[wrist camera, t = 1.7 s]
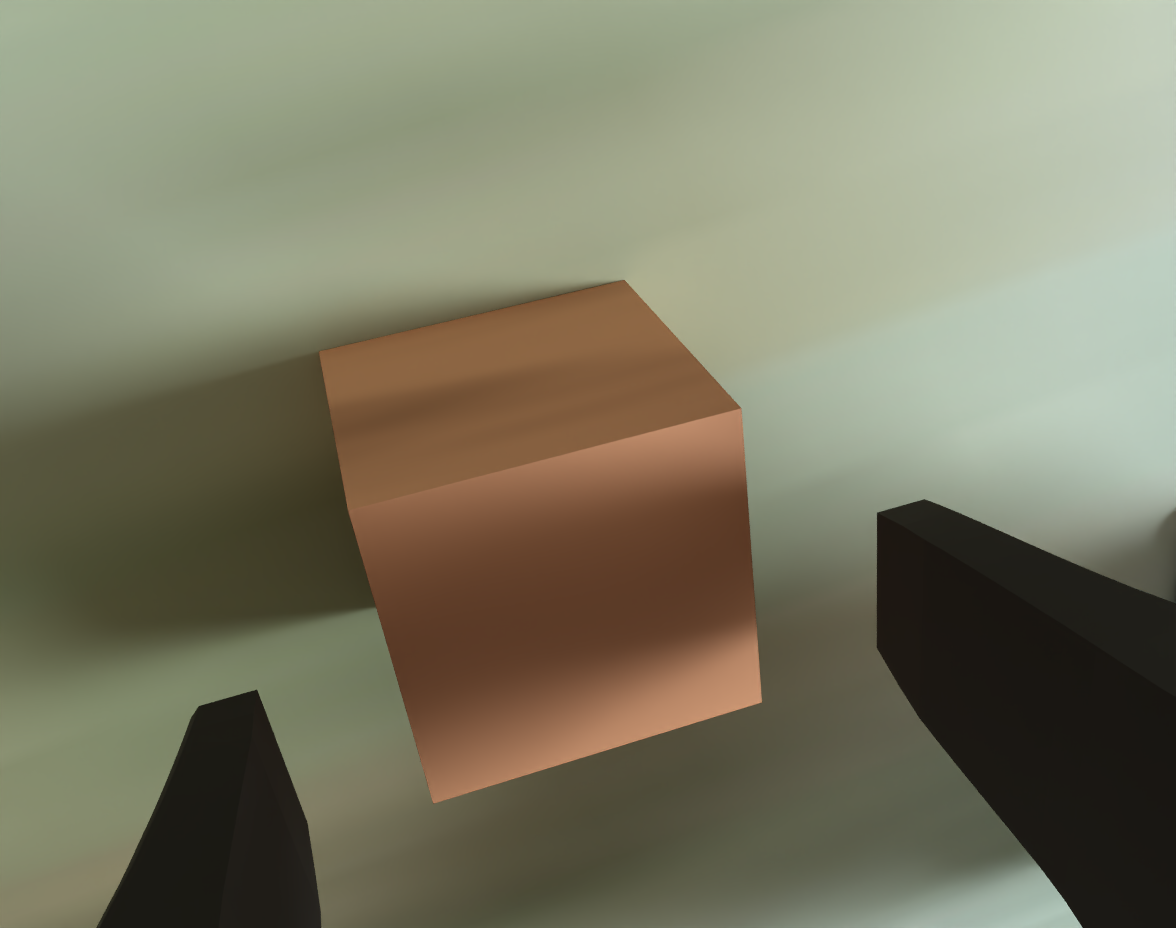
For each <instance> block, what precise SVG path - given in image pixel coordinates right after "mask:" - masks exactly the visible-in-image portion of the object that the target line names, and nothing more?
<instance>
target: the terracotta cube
mask: <svg viewBox="0 0 1176 928" xmlns="http://www.w3.org/2000/svg"><path fill="white" fill-rule="evenodd" d="M319 355H320V361H321V366H322V372H323V377H324V382H325V388H326V393H327V399H328V404H329V410H330V415H331V420H332V426H333V431H334V437H335V442H336V448H337V453H338V458H339V464H340V469H341V475H342V480H343V486H344V491H345V496H346V502H347V507H348V512H349V515H350V519H351V522H352V526H353V529H354V533H355V536H356V539H357V543H358V546H359V550H360V553H361V557H362V560H363V564H364V567H365V570H366V574H367V577H368V581H369V584H370V588H371V591H372V594H373V598H374V601H375V605H376V608H377V612H378V615H379V619H380V622H381V625H382V629H383V632H384V636H385V639H386V643H387V646H388V649H389V653H390V656H391V660H392V663H393V667H394V670H395V674H396V677H397V680H398V684H399V687H400V691H401V694H402V698H403V701H404V704H405V708H406V711H407V715H408V718H409V722H410V725H411V729H412V732H413V735H414V739H415V742H416V746H417V749H418V753H419V756H420V759H421V763H422V766H423V770H424V773H425V777H426V780H427V784H428V787H429V790H430V794H431V797H432V801H433V804H434V803H437V802H440V801H443V800H447V799H450V798H453V797H456V796H460V795H463V794H466V793H469V792H473V791H476V790H479V789H482V788H486V787H489V786H492V785H495V784H499V783H502V782H505V781H508V780H512V779H515V778H518V777H521V776H525V775H528V774H531V773H534V772H537V771H541V770H544V769H547V768H550V767H554V766H557V765H560V764H563V763H567V762H570V761H573V760H576V759H580V758H583V757H586V756H589V755H593V754H596V753H599V752H602V751H606V750H609V749H612V748H615V747H619V746H622V745H625V744H628V743H632V742H635V741H638V740H641V739H645V738H648V737H651V736H654V735H657V734H661V733H664V732H667V731H670V730H674V729H677V728H680V727H683V726H687V725H690V724H693V723H696V722H700V721H703V720H706V719H709V718H713V717H716V716H719V715H722V714H726V713H729V712H732V711H735V710H739V709H742V708H745V707H748V706H752V705H755V704H758V703H761V702H762V697H761V683H760V669H759V654H758V640H757V626H756V611H755V597H754V583H753V568H752V554H751V540H750V525H749V511H748V497H747V482H746V468H745V454H744V439H743V425H742V411H741V407H740V406H739V405H738V404H737V403H736V402H735V401H734V400H733V399H732V398H731V396H730V395H729V394H728V393H727V392H726V391H725V390H724V389H723V388H722V387H721V386H720V384H719V383H718V382H717V381H716V380H715V379H714V378H713V377H712V376H711V375H710V373H709V372H708V371H707V370H706V369H705V368H704V367H703V366H702V365H701V364H700V362H699V361H698V360H697V359H696V358H695V357H694V356H693V355H692V354H691V353H690V351H689V350H688V349H687V348H686V347H685V346H684V345H683V344H682V343H681V342H680V340H679V339H678V338H677V337H676V336H675V335H674V334H673V333H672V332H671V331H670V330H669V328H668V327H667V326H666V325H665V324H664V323H663V322H662V321H661V320H660V319H659V317H658V316H657V315H656V314H655V313H654V312H653V311H652V310H651V309H650V308H649V306H648V305H647V304H646V303H645V302H644V301H643V300H642V299H641V298H640V297H639V295H638V294H637V293H636V292H635V291H634V290H633V289H632V288H631V287H630V286H629V284H628V283H627V282H626V281H625V280H622V281H618V282H614V283H610V284H605V285H601V286H597V287H592V288H588V289H584V290H580V291H575V292H571V293H567V294H563V295H558V296H554V297H550V298H545V299H541V300H537V301H533V302H528V303H524V304H520V305H515V306H511V307H507V308H503V309H498V310H494V311H490V312H486V313H481V314H477V315H473V316H468V317H464V318H460V319H456V320H451V321H447V322H443V323H439V324H434V325H430V326H426V327H421V328H417V329H413V330H409V331H404V332H400V333H396V334H392V335H387V336H383V337H379V338H374V339H370V340H366V341H362V342H357V343H353V344H349V345H344V346H340V347H336V348H332V349H327V350H323V351H319Z"/></svg>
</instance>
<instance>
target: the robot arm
mask: <svg viewBox="0 0 1176 928" xmlns="http://www.w3.org/2000/svg"><path fill="white" fill-rule="evenodd" d="M877 649H878V651H879V652H880V654H881V656H882V657H883V659H884V661H885V663H886V664H887V666H888V668H889V669H890V671H891V673H892V674H893V676H894V678H895V680H896V681H897V683H898V685H899V686H900V688H901V690H902V691H903V693H904V694H905V696H906V697H907V699H908V701H909V702H910V704H911V705H912V707H913V709H914V710H915V712H916V713H917V715H918V716H919V718H920V719H921V721H922V722H923V723H924V724H925V726H926V727H927V728H928V730H929V731H930V732H931V733H932V735H933V736H934V737H935V738H936V740H937V741H938V742H939V743H940V745H941V746H942V747H943V748H944V750H945V751H946V752H947V753H948V755H949V756H950V757H951V758H952V760H953V761H954V762H955V763H956V765H957V766H958V767H959V768H960V770H961V771H962V772H963V773H964V775H965V776H966V777H967V778H968V779H969V781H970V782H971V783H972V784H973V786H974V787H975V788H976V789H977V790H978V792H979V793H980V794H981V795H982V797H983V798H984V799H985V800H986V801H987V803H988V804H989V805H990V806H991V808H992V809H993V810H994V811H995V812H996V814H997V815H998V816H999V817H1000V819H1001V820H1002V821H1003V822H1004V823H1005V825H1006V826H1007V827H1008V828H1009V830H1010V831H1011V832H1012V833H1013V834H1014V836H1015V837H1016V838H1017V839H1018V841H1019V842H1020V843H1021V844H1022V845H1023V847H1024V848H1025V849H1026V850H1027V852H1028V853H1029V854H1030V855H1031V857H1032V858H1033V859H1034V860H1035V861H1036V863H1037V864H1038V865H1039V866H1040V868H1041V869H1042V870H1043V872H1044V873H1045V874H1046V876H1047V877H1048V878H1049V880H1050V881H1051V882H1052V884H1053V885H1054V886H1055V888H1056V889H1057V891H1058V892H1059V893H1060V895H1061V896H1062V897H1063V899H1064V900H1065V901H1066V903H1067V904H1068V906H1069V907H1070V909H1071V911H1072V912H1073V914H1074V915H1075V917H1076V918H1077V920H1078V921H1079V923H1080V924H1081V926H1082V927H1083V928H1176V604H1175V603H1173V602H1170V601H1167V600H1165V599H1162V598H1159V597H1157V596H1154V595H1151V594H1148V593H1146V592H1143V591H1140V590H1138V589H1135V588H1132V587H1130V586H1127V585H1125V584H1122V583H1120V582H1117V581H1115V580H1112V579H1110V578H1107V577H1105V576H1102V575H1100V574H1098V573H1095V572H1093V571H1090V570H1088V569H1086V568H1083V567H1081V566H1078V565H1076V564H1074V563H1071V562H1069V561H1067V560H1064V559H1062V558H1060V557H1057V556H1055V555H1053V554H1051V553H1048V552H1046V551H1044V550H1041V549H1039V548H1037V547H1035V546H1032V545H1030V544H1028V543H1026V542H1023V541H1021V540H1019V539H1017V538H1014V537H1012V536H1010V535H1008V534H1005V533H1003V532H1001V531H999V530H996V529H994V528H992V527H990V526H987V525H985V524H983V523H981V522H978V521H976V520H974V519H972V518H969V517H967V516H965V515H962V514H960V513H958V512H955V511H953V510H951V509H948V508H946V507H943V506H941V505H938V504H936V503H933V502H930V501H928V500H925V499H924V500H920V501H917V502H913V503H910V504H906V505H903V506H899V507H896V508H892V509H889V510H885V511H882V512H878V513H877ZM96 928H321V911H320V904H319V897H318V890H317V883H316V875H315V869H314V862H313V856H312V849H311V843H310V836H309V830H308V823H307V820H306V818H305V815H304V813H303V810H302V807H301V805H300V802H299V799H298V797H297V794H296V791H295V789H294V786H293V783H292V781H291V778H290V776H289V773H288V770H287V768H286V765H285V762H284V760H283V757H282V754H281V752H280V749H279V746H278V744H277V741H276V738H275V736H274V733H273V731H272V728H271V725H270V723H269V720H268V717H267V715H266V712H265V709H264V707H263V704H262V701H261V699H260V696H259V693H258V691H257V690H254V691H250V692H247V693H243V694H240V695H236V696H233V697H229V698H226V699H222V700H219V701H215V702H212V703H208V704H205V705H201V706H199V707H198V708H197V710H196V711H195V713H194V714H193V716H192V717H191V719H190V722H189V725H188V728H187V730H186V733H185V736H184V738H183V741H182V743H181V746H180V749H179V751H178V754H177V756H176V759H175V761H174V764H173V766H172V769H171V771H170V774H169V776H168V779H167V781H166V783H165V786H164V788H163V790H162V793H161V795H160V798H159V800H158V802H157V805H156V807H155V809H154V812H153V814H152V816H151V818H150V820H149V822H148V825H147V827H146V829H145V831H144V833H143V835H142V838H141V840H140V842H139V844H138V846H137V848H136V850H135V853H134V855H133V857H132V859H131V861H130V863H129V866H128V868H127V870H126V872H125V874H124V876H123V878H122V880H121V882H120V884H119V886H118V888H117V890H116V892H115V894H114V896H113V897H112V899H111V901H110V903H109V905H108V907H107V909H106V911H105V912H104V914H103V916H102V918H101V920H100V922H99V924H98V926H97V927H96Z"/></svg>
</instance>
